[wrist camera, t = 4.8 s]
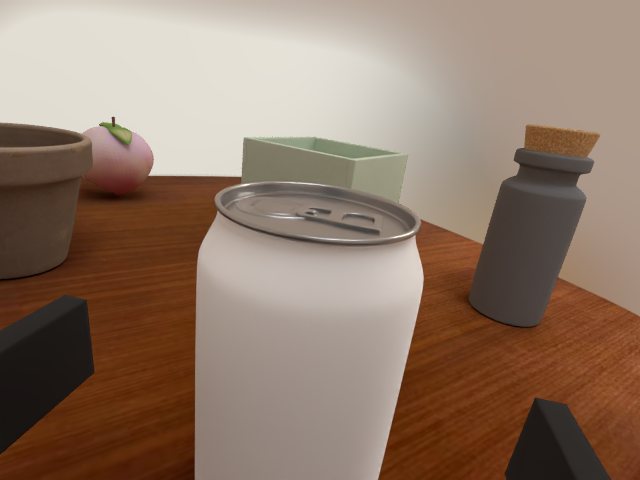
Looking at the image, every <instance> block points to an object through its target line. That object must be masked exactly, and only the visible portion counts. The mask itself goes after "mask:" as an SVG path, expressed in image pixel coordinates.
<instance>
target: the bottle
mask: <svg viewBox="0 0 640 480" xmlns="http://www.w3.org/2000/svg"><path fill="white" fill-rule="evenodd" d="M599 137H600V134H599V133H595V132H588V131H580V130H572V129H565V128H555V127H548V126H538V125H527V126H526V134H525V147H524V148H520V149H517V150H516V153H515V156H514V161H515V162H517V163H519V164H520V168H519V171H518V174H517V175H516V176H513V177H510V178H508V179H506V180H504V181H503V182H502V184H501V187H500V190H499V193H498V197H497V200H496V203H495V207H494V210H493V213H492V217H491V220H490V223H489V227H488V230H487V234H486V237H485V241H484V244H483V248H482V251H481V255H480V258H479V262H478V265H477V269H476V272H475V276H474V279H473V283H472V287H471V290H470V294H469V302H470V303H471V305H472V306H473V307H474V308H475V309H476V310H478V311H479V312H480V313H482V314H484V315H485V316H487V317H489V318H492V319H494V320H496V321H499V322H502V323H505V324H509V325H514V326H521V327H531V326H535V325H537V324H539V323H540V321H541V319H542V317H543V314H544V312H545V309H546V307H547V304H548V302H549V299H550V296H551V294H552V291H553V288H554V286H555V283H556V280H557V278H558V275H559V272H560V270H561V267H562V264H563V262H564V259H565V257H566V254H567V251H568V249H569V246H570V243H571V241H572V238H573V235H574V233H575V230H576V227H577V224H578V222H579V219H580V216H581V213H582V211H583V208H584V205H585V202H586V196H585V194H584V193H583V192H582V191H581V190H580V189H579V188H578V187H576V184H577V181H578V178H579V176H580V175H581V174H586V173H590V172H591V169H592V167H593V164H594V161H593V160H592V159H589V158H587V156H588V155H589V153H590V151H591V150H592V148H593V147H594V145H595V143H596V142H597V140H598V138H599Z"/></svg>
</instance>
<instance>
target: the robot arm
mask: <svg viewBox="0 0 640 480" xmlns="http://www.w3.org/2000/svg"><path fill="white" fill-rule="evenodd" d="M93 373H94V364H93V355H92V346H91V336H90V327H89V318H88V308H87V300H85V299H80V298H76V297H71V296H67V295H64V296H62V297H60V298H58V299H57V300H55V301H53V302H51V303H49V304H48V305H46V306H44V307H42V308H40V309H39V310H37V311H35V312H33V313H31V314H30V315H28V316H26V317H24V318H22V319H21V320H19V321H17V322H15V323H13V324H12V325H10V326H8V327H6V328H4V329H3V330H1V331H0V454H1V453H2V452H4V451H5V450H6V449H7V448H8V447H9V446H10V445H12V444H13V443H14V442H15V441H16V440H17V439H19V438H20V437H21V436H22V435H23V434H24V433H25V432H27V431H28V430H29V429H30V428H31V427H32V426H33V425H35V424H36V423H37V422H38V421H39V420H40V419H41V418H43V417H44V416H45V415H46V414H47V413H48V412H50V411H51V410H52V409H53V408H54V407H55V406H56V405H58V404H59V403H60V402H61V401H62V400H63V399H64V398H66V397H67V396H68V395H69V394H70V393H71V392H73V391H74V390H75V389H76V388H77V387H78V386H79V385H81V384H82V383H83V382H84V381H85V380H86V379H87V378H89V377H90V376H91V375H92V374H93ZM505 476H506V479H507V480H611V479H610V477H609V476H608V474H607V472H606V471H605V469H604V467H603V465H602V464H601V462H600V460H599V459H598V457H597V455H596V454H595V452H594V450H593V449H592V447H591V445H590V444H589V442H588V440H587V438H586V437H585V435H584V433H583V432H582V430H581V428H580V427H579V425H578V423H577V422H576V420H575V418H574V417H573V415H572V413H571V411H570V410H569V408H568V406H567V405H566V404H562V403H557V402H553V401H548V400H543V399H539V398H535V399H534V402H533V404H532V407H531V409H530V412H529V414H528V417H527V419H526V422H525V424H524V427H523V429H522V432H521V434H520V437H519V439H518V442H517V444H516V447H515V449H514V452H513V454H512V457H511V459H510V462H509V464H508V467H507V469H506V472H505Z"/></svg>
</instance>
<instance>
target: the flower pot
mask: <svg viewBox="0 0 640 480" xmlns="http://www.w3.org/2000/svg"><path fill="white" fill-rule="evenodd" d="M92 168H93V157H92V141H91V139H90V138H89V137H87V136H85V135H83V134H80V133H77V132H73V131H69V130H64V129H58V128H52V127H44V126H35V125H26V124H13V123H0V279H10V278H18V277H25V276H30V275H34V274H38V273H42V272H45V271H47V270H50V269H52V268H54V267H56V266H58V265H59V264H61V263H62V262H63V261H64V260H65V259H66V257H67V255H68V251H69V247H70V242H71V237H72V233H73V227H74V221H75V215H76V208H77V201H78V195H79V189H80V184H81V180H82V176H84V175H86V174H87V173H89V172H90V171H91V170H92Z"/></svg>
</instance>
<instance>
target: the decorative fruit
mask: <svg viewBox="0 0 640 480" xmlns="http://www.w3.org/2000/svg"><path fill="white" fill-rule="evenodd" d="M99 125H100V126H99V127H94V128H91V129H89V130H87V131H85V132H84V133H82V134H83V135H85V136H87V137H89V138H90V139H91V141H92V157H93V168H92V170H91V171H90V172H89V173H87V174H86V175H84V177H85V178H86V179H88V180H89V181H91V182H93V183H95V184H97V185H98V186H100V187H102V188H104V189H107V190H109V191H111V192H113V193H115V194H116V195H117V196H121V195H123V194H125V193H128V192H129V191H131V190H133V189H135V188H136V187H138V186H139V185H140V184H141V183H142V182H143V181H144V180H145V179H146V178H147V176H148V175H149V173H150V171H151V169H152V166H153V160H154V159H153V153H152V151H151V149H150V147H149V146H148V144H147V143H146V142H145V140H144V139H143V138H142V137H141V136H139V135H138V134H136V133H134V132H131V131H129V130H128V129H126V128H122V127H121V126H119V125H117V124H115V117H112V123H104V122H103V123H101V124H99Z"/></svg>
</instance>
